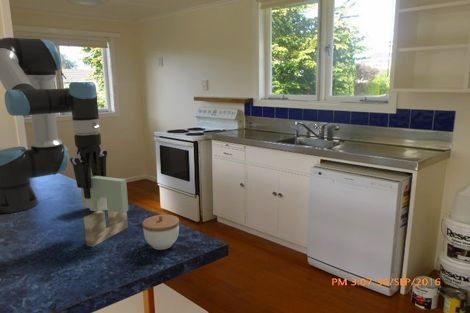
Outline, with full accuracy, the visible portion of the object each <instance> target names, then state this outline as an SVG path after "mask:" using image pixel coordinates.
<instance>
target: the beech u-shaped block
mask: <svg viewBox="0 0 470 313" xmlns="http://www.w3.org/2000/svg"><path fill="white" fill-rule="evenodd" d="M105 213H106V212H105V211H97V212H96V211H93V213H91V214H88V215H86V216H84V217H83V224H84V234H85V243H86V246H88V247H92V248H94V247H95V246H97V245H98V244H100V243H102V242H104V241H106V240H108V239H109V238H111V237H113V236H114V235H115V236H116V234H118V233H120V232H121V231H123V230H125V229H127V228H128V227H129V225H128V211H126V212H124V213H120V212H114V211H108V210H107V216H108V218H107V219H108V220H107V221H108V224H107V223H106V222H107V221H106V214H105Z"/></svg>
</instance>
